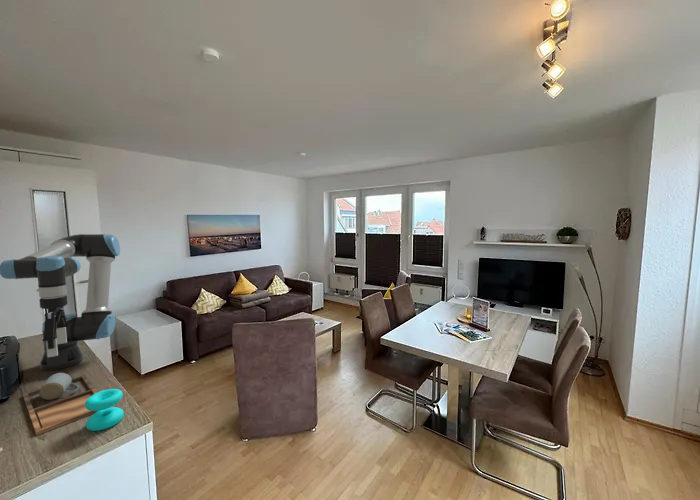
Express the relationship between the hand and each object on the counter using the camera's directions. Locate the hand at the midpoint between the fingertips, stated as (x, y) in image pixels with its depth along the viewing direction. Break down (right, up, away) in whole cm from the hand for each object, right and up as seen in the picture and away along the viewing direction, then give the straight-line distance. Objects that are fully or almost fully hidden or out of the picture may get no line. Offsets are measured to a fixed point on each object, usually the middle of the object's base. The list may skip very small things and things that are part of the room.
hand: (57, 349), depth 115 cm
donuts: (+30, -21, -14) cm, 39 cm away
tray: (+5, -19, -3) cm, 20 cm away
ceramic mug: (-1, -19, +3) cm, 19 cm away
